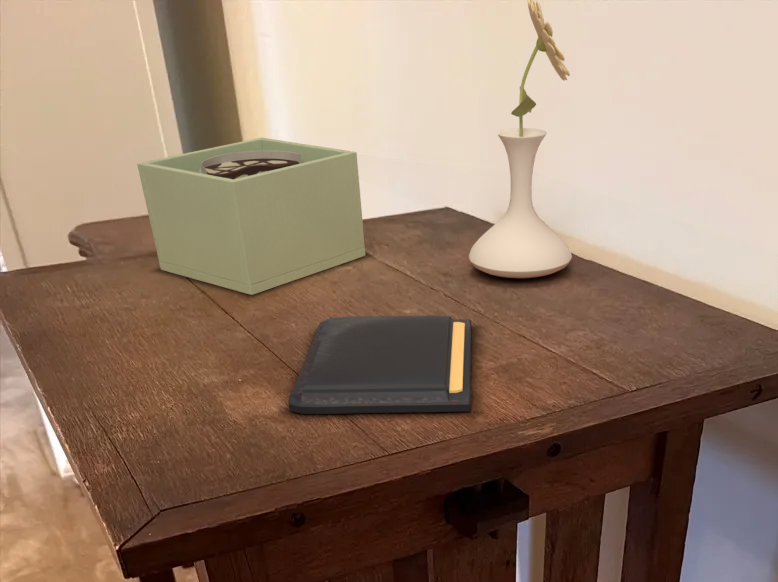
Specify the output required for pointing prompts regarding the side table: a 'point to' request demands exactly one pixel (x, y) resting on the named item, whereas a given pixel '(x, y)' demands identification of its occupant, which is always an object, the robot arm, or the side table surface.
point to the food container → (248, 163)
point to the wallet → (386, 366)
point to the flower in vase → (524, 190)
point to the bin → (255, 216)
